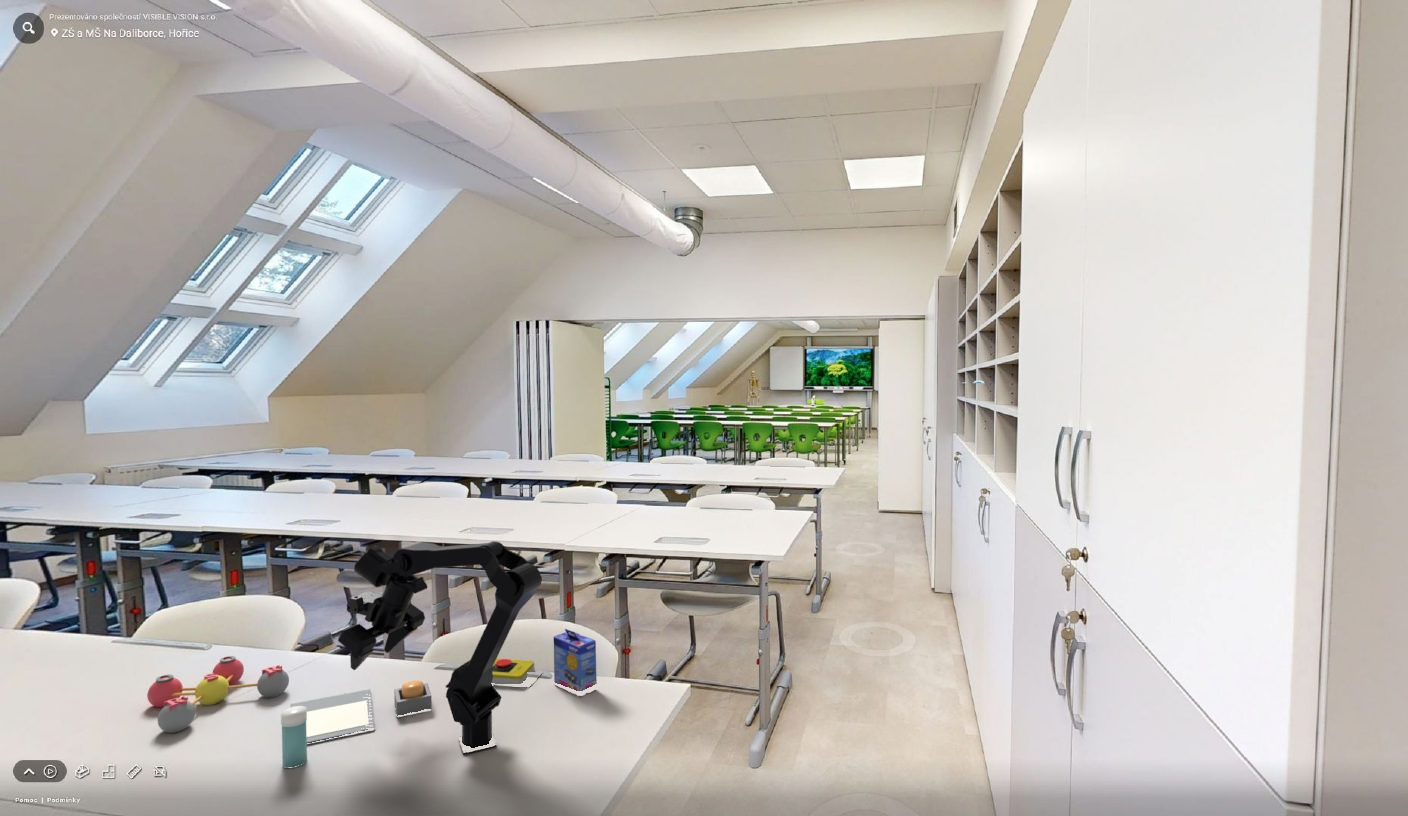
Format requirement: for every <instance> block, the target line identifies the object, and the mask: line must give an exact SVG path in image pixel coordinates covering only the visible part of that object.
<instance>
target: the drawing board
mask: <svg viewBox="0 0 1408 816" xmlns="http://www.w3.org/2000/svg"><path fill="white" fill-rule="evenodd" d="M371 690H372V689H370V688H369V689H364V690H358V691H353V692H347V693H343V694H337V695H331V696H326V697H321V698H315V699H311V700H304V701H299V702H294V703H293V702H292V703H290V706H289V708H291V707H295V706H304V707H306V708H307V720H306V733H307V743H312V742H316V741H320V740H326V739H329V738H334V737H339V736H342V735H345V734H351V733H354V732H356V731H357V732H358V731H365V730H368V729H366V728H375V722H374V721H375V720H374V719H375V718H374V709H373V702H369V700H371V699H372V692H371ZM366 694H368V695H366ZM369 694H371V696H369ZM363 697H371V699H368V698H363ZM365 700H366V701H365ZM367 700H368V701H367ZM367 703H368V704H367ZM369 703H372V705H369ZM367 706H368V707H367ZM369 706H372V707H369ZM369 709H373V710H369ZM369 712H373V713H370V715H373V716H372V717H369V716H368V715H369ZM368 718H374V719H372V720H368ZM369 722H373V723H369ZM365 725H373V727H372V726H371V727H370V726H367V727H366V726H365ZM361 728H362V729H361ZM363 728H364V729H363Z"/></svg>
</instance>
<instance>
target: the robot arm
mask: <svg viewBox="0 0 1408 816" xmlns="http://www.w3.org/2000/svg"><path fill="white" fill-rule="evenodd" d="M464 566H466V567H467V566H468V567H469V566H480V567H481V568H483V569H484V571H485V573H486V576H487V579H488V581H489V582H490V583H491V584H492V585H493V586H494V587H495V588H496V589H495V593H494V597H495V607H494V609H493V611H492V614H490V615H491V616H490V617H489V620H488V621H487V624H486V626H485V628H484V631H483V632H482V634H481V636H480V639H479V640H478V643H477V645H476V647H475V649H474V651H473V653H472V656H471V658H470V659H469V660H468V661H466V662H465V663H463V664H461V665H460V666H458V667H457V668H455V669H453V671H452V673H451V677H450V679H449V681H448V683H447V684H446V685H445V688H447V689H446V693H445V697H446V699H447V702H448V705H449V710H450V713H451V715H452V718H453V721H454V722H455V723H459V724H460V726H461V736H462V743H463V744H464V745H466V746H470V747H471V748H475V747H478V746H483V745H487V744H489V741H490V740H491V738H492V734H493V710H495V708H496V707H497V708H498V707H499V706H500V703H501V699H502V695H501V694H500V693H499V692H498V691H497V690H496V688H495V686H492V684H491V683H492V680H493V673H492V667H493V665H494V663H495V660H496V658H498V656H499V655H500V652H501V650H502V648H503V645H504V643H505V642H506V640H507V637H508V635H509V633H510V631H511V629H512V627H513V625H514V623H515V620H516V618H517V616H518V614H519V612H520V611H521V609H522V608H523V607H524V606H525V605H526V604H527V603H528V602H529V601H530V600H531V599H532V598H533V597H534V594H536V593H537V590H539V588H540V586H541V585H542V581H543V577H542V575H541V572H540V570H539V569H538V567H536V566H535V565H534V564H532V563H530V561H528V560H527V559H526V558H525V557H524V556H522V555H520V554H518V553H516V552H514V551H512V550H510V549H508V548H507V547H506V546H504V544H502V543H501V542H499V541H493V540H492V541H490V542H483V543H481V542H480V543H471V544H461V545H459V544H458V545H447V546H442V545H438V544H435V543H432V542H431V543H430V542H423V541H422V542H421V541H420V542H417V543H415V544H411V545H409V546H405V547H402V548H399V549H397V550H396V551H395V552H394V554H393V557H392V556H391V555H389V554H388V553H387V552H385V551H384V550H383V549H382V548H381V547H379V546H378V545H374V546H372V547H369V548H368V549H367V552H365V553H364V554H363V555H362V556H361V557H360V558H359V559H358V560H357V561H356V562H355V564H354V568H353V571H354V573H356V574H357V575H358V576H360V577H361V578H362V579H364V580H365V581H366V582H368V583H369V584H371V585H372V586H373V587H375V588H380V587H382V586H383V587H385V588H384V590H383V593H381V594H380V593H376V592H373V591H365V592H363V593H362V592H361V593H360V594H356V595H354V596H352V597H350V598H349V600H348V602H347V603H346V612H348V613H349V614H354V615H357V614H358V615H360V616H361V615H362V616H365V617H364V621H366V622H368V623H371V626H372V627H369V628H365V627H364V626H363V625H361V624H360V623H358V624H353V625H351V626H349V627H347V628H345V629H343V630H341V631H340V632H339V636H338V637H337V642H338V643H340V644H341V645H342V646H344V647H345V648H347V649H348V650H349V652H350V653H349V657H350V659H349V660H350V668H351V669H352V670H353V671H355V670H357V669H358V668H359V667H360V666H361V665H362V664H363V663H364V662H365V660H366V659H368V657H369V656H370V655H371V654H372V653H373V652H374V648H375V647H376V644H377V642H378V641H377V639H378V638H380V637H381V636H384V635H385V634H386V635H388V636H387V638H386V640H385V644H384V645H385V646H384V649H383V650H384V652H385V653H387V654H388V653H390V652H391V651H392V650H394V649H395V648H396V647H397V646H398V645H399V644H400V643H402V642H403V641H404V640H405V639H406V638H407V637H409V636H410V635H411V634H413V632H415V631H416V630H418V628H419V627H421V626H422V625H423V624H424V621H425V619H426V617H425V616H426V615H425V614H424V613H425V612H424V611H422V610H421V609H419V608H418V607H417V606H415V605H414V604H412V603H411V601H412V599H413V597H414V595H415V594H417V593H419V592H422V591H424V590H427V589H428V585H427V583H426V581H425V579H424V577H423V576H420V577H419V576H417V574H420V573H423V572H425V571H429V570H432V569H433V570H434V569H438V568H449V567H450V568H452V567H454V568H455V567H464ZM501 566H503V567H504V568H506V569H508V571H506V570H504V569H503V568H502V567H501Z"/></svg>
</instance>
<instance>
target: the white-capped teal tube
mask: <svg viewBox="0 0 1408 816" xmlns="http://www.w3.org/2000/svg"><path fill="white" fill-rule="evenodd" d="M306 720H307V708H306V707H304V706H295V707H291V708H290V707H288V708H286V709H284V710H283V711H281V712H280V725H281V749H282V752H281V753H282V756H281V757H282V767H283V766H284V767H295V766H298V765H301V764H303V763H304V762H305V763H307V761H308V752H307V751H308V745H307V733H306ZM306 760H307V761H306ZM305 763H304V764H305ZM304 764H303V765H304ZM301 766H302V765H301ZM284 767H283V768H284Z"/></svg>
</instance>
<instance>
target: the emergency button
mask: <svg viewBox="0 0 1408 816" xmlns="http://www.w3.org/2000/svg"><path fill="white" fill-rule="evenodd" d="M527 672H543V671H542V670H541V671H540V670H535V661H532V660H524V659H523V660H522V659H509V658H498V657H497V658H496V660H495V663H494V665H493V667H492V673H493V680H492V683H495V684H521V683H523V681H525V680H526V678H527V675H528V674H527Z"/></svg>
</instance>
